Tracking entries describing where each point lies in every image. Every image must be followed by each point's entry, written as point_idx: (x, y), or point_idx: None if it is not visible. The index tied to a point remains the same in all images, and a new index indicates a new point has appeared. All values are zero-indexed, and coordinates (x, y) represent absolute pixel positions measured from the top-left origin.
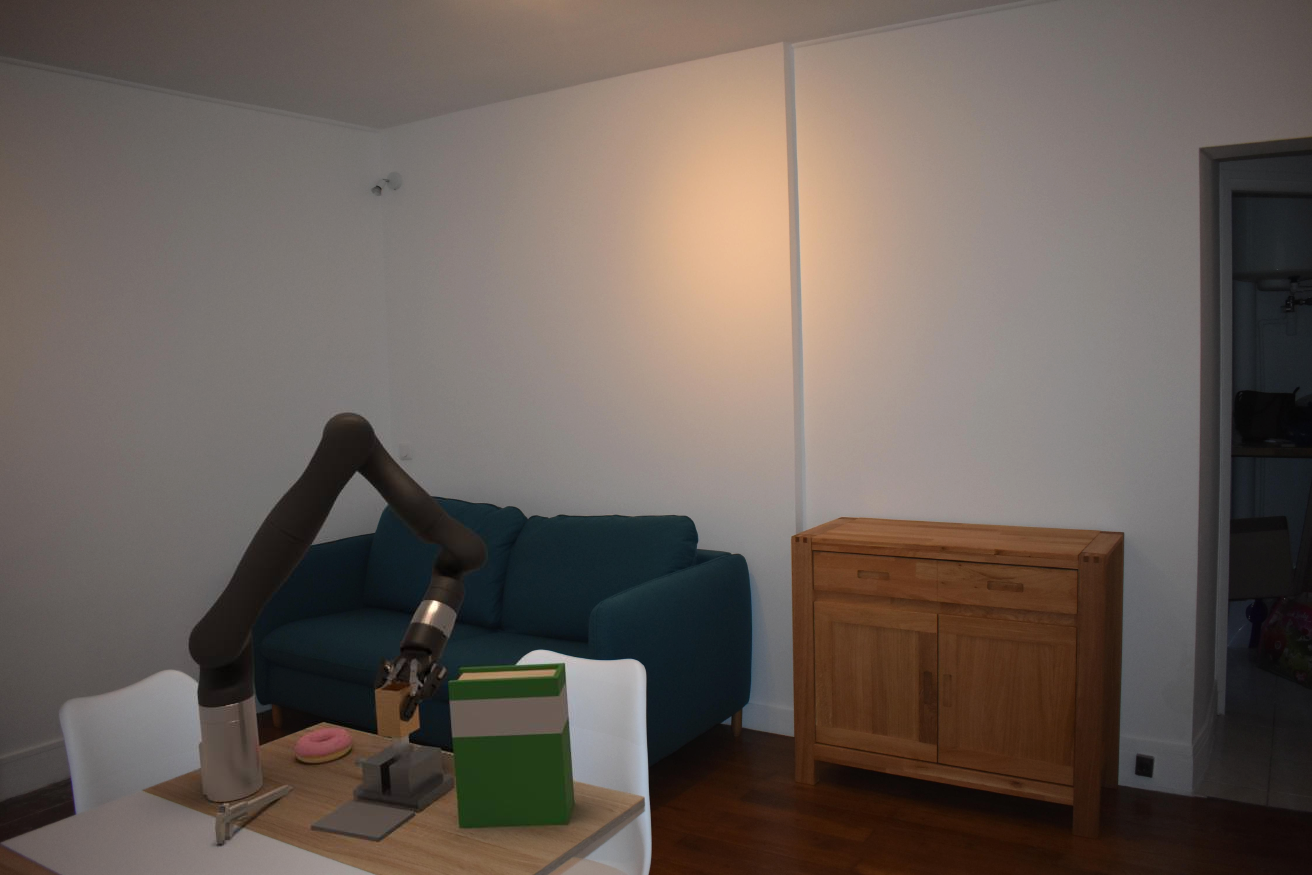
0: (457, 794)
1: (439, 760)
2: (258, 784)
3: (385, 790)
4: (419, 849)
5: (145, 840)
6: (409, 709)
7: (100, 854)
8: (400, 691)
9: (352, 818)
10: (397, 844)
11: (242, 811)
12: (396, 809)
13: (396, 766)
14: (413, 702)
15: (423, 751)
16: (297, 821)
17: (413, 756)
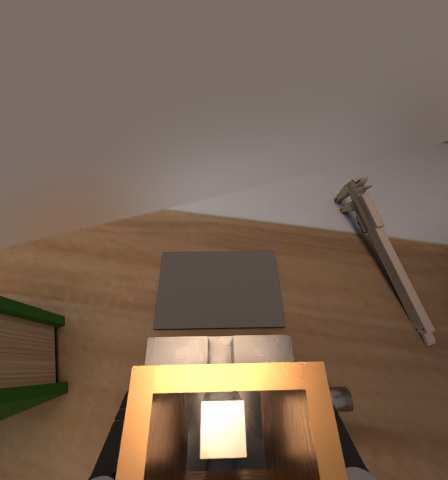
0: (25, 304)
1: None
2: None
3: (230, 351)
4: (100, 254)
5: (419, 187)
6: (125, 408)
7: (423, 162)
8: (131, 402)
9: (234, 282)
10: (135, 255)
11: (365, 219)
12: (188, 326)
13: (191, 342)
14: (101, 451)
15: None
16: (308, 262)
17: None
